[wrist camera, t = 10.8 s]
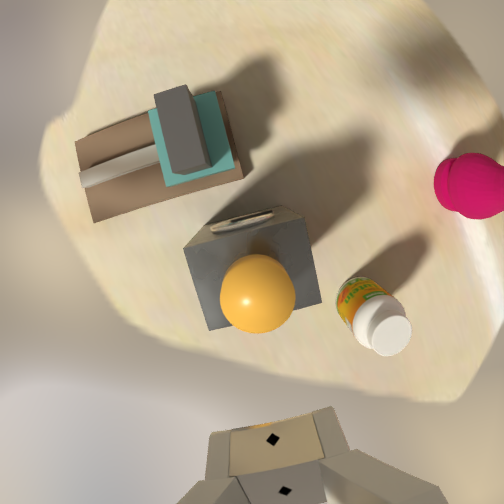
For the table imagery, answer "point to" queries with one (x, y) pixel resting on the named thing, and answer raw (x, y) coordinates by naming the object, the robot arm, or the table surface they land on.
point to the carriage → (189, 135)
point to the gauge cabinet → (247, 243)
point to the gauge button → (257, 294)
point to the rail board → (142, 179)
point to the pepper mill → (471, 185)
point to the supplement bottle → (373, 316)
